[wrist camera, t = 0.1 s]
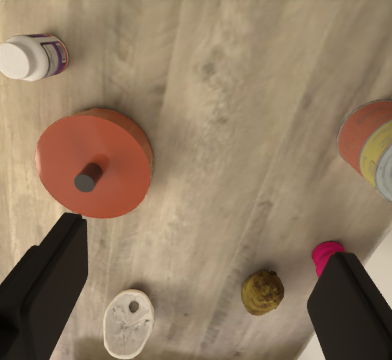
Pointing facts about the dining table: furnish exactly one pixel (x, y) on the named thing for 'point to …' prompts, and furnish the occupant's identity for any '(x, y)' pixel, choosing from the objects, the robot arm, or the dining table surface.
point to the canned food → (369, 144)
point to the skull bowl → (128, 324)
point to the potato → (262, 292)
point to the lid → (93, 166)
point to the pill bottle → (33, 57)
